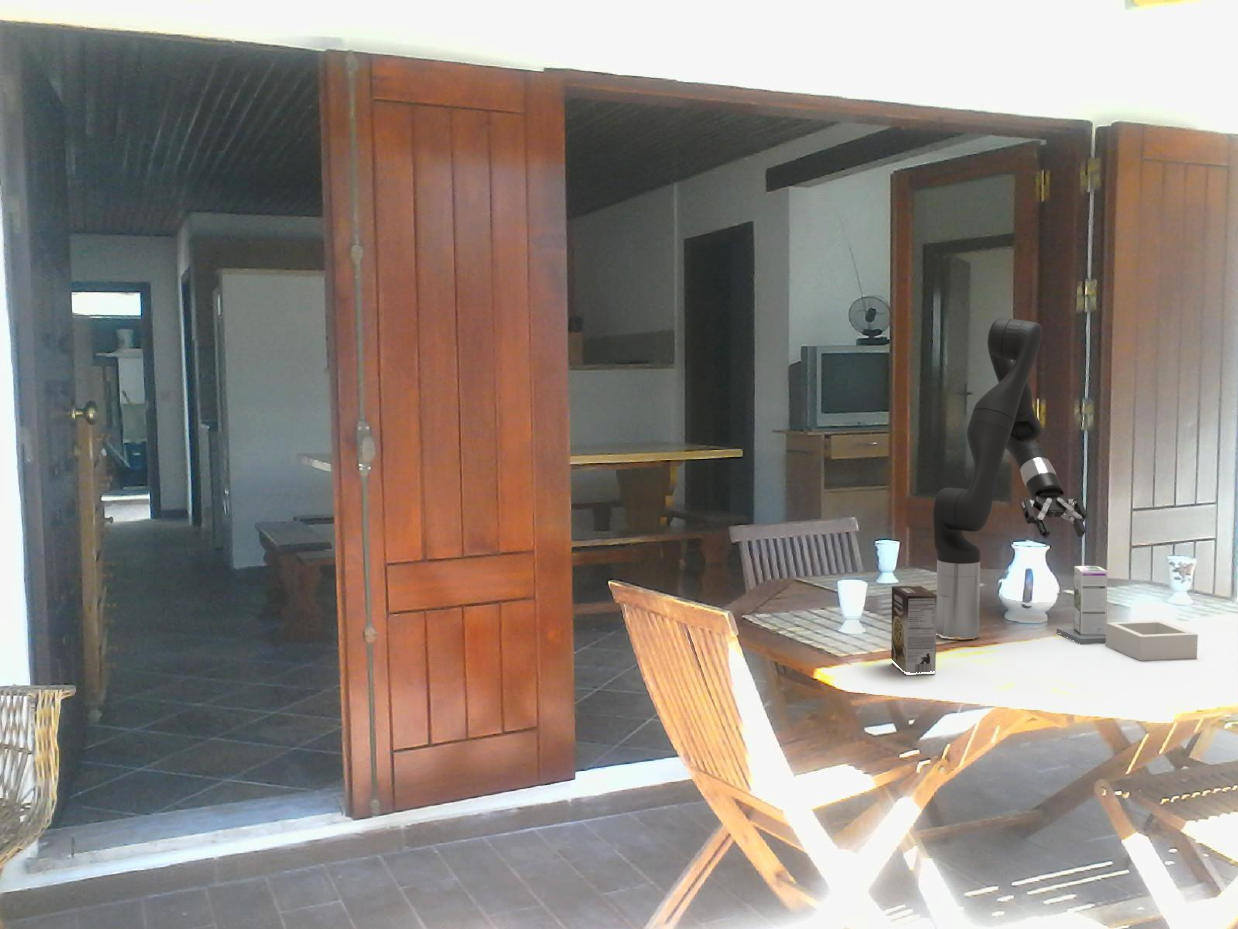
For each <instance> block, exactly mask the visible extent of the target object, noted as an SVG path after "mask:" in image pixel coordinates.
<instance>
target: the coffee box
mask: <svg viewBox="0 0 1238 929" xmlns="http://www.w3.org/2000/svg"><path fill="white" fill-rule="evenodd" d="M933 593H934V592H932V591H930V590H928V589H927V588H924V587H923V586H922V585H920V586H919V585H916V586H912V585H895V586H894V585H893V586H891V639H890V640H891V645H890V646H891V649H890V650H891V651H890V652H891V653H890V654H891V655H890V657H891V659H892V660H893V661H894V662H895V663H896V664H897V665H898V666H899V667H900V668H901V669H902V670H903V671H905V672H910V673H916V672H917V673H919V672H920V673H921V672H930V671H932V672H933V671H935V672H936V656H937V653H936V652H937V635H936V624H937V595H935V594H933ZM891 659H890V660H891Z"/></svg>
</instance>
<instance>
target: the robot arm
mask: <svg viewBox="0 0 1238 929" xmlns="http://www.w3.org/2000/svg"><path fill="white" fill-rule="evenodd" d="M1042 339H1043V328H1042V325H1041V324H1040V323H1039V322H1036V321H1031V320H1023V319H1015V318H1007V317H1004V318H1003V317H1001V318H997V319H994V321H993V322H992V324H991V326H990V327H989V331H988V335H987V349H988V354H989V358H990V361H991V364H992V367H993V370H994V373H995V376H996V379H997V382H998V383H997V384H995V385H994V386H993V387H992V388H991V389H990V390H988V391H987V392H986V393H985V394H984V395H982V396H981V397H980V399H978V401H977V402H976V403H975V404H974V407H973V410H972V413H971V416H970V420H969V422H968V424H967V425H968V426H967V428H966V429H967V430H966V437H967V443H968V447H969V450H970V452H971V457H972V459H973V464H974V465H973V467H974V468H973V475H972V479H971V482H970V486H969V488H960V487H959V488H958V487H945V488H942V489H940V490H939V491H938V493H937V494H936V496H935V499H934V503H933V516H932V518H933V538H934V539H933V540H934V541H933V542H934V548H935V551H936V591H933V592H932V593H933V594H935V595H937V624H936V632H937V633H939V634H941V635H943V636H948V637H961V638H973V637H974V638H975V637H978V638H980V600H981V599H980V594H981V593H980V591H981V590H980V589H981V550H980V548H979V547H978V546H977V545H975V544H973V543H972V542H970V541H969V540H968V539H967V538H966V537H965V536H964V534H963V532H974V533H976V532H979V531H981V530H982V529H983V528H984V527H985V525H986V524H987V522H988V519H989V517H990V513H991V510H992V505H993V501H994V496H995V490H996V486H997V481H998V477H999V473H1000V469H1001V465H1002V461H1003V458H1004V454H1005V451H1006V450H1007V451H1008V452H1009V454H1010V455H1012V457H1013V458H1014V460H1015V463H1016V464H1017V466H1018V470H1019V472H1020V475H1021V478H1022V482H1023V484H1024V486H1025V489H1026V491H1027V494H1028V496H1029V498H1028V497H1025V498H1023V500H1022V502H1021V504H1020V507H1021V509H1022V510H1021V511H1022V514H1023V516H1024V519H1025V522H1026V524H1028V525H1031V524H1034V525H1035V526H1036V527H1037V530H1038V532H1039V535H1040V536H1041V537H1042V538H1043V539H1048V537H1049V536H1050V534H1051V532H1050V530H1049V527H1048V524H1047V522H1046V520H1045V519H1044V518H1045V517H1047V518H1053V517H1054V518H1055V517H1056V518H1062V519H1063V520H1065V521H1068V522H1070V523H1071V524H1072V526H1073V528H1074V531H1075V533H1076V535H1077V537H1078V538H1083V536H1084V535H1085V533H1086V531H1087V529H1086V527H1085V524H1084V522H1085V521H1086V519H1087V518H1088V516H1089V514H1088V511H1087V509H1086V507H1085V506H1084V504H1083V502H1082V500H1081V498H1080V497H1079V496H1074V497H1073V498H1067V497H1066V495H1065V492H1064V489H1063V486H1062V484H1061V482H1060V480H1059V477H1058V476H1057V473H1056V471H1055V470H1056V469H1055V468H1054V466H1053V465H1052V463H1051V462H1050V460H1049V458H1048V455H1047V453H1046V451H1045V448H1044V447H1043V445H1042V444H1040V443H1039V442H1036V440H1038V439H1039V438H1040V437H1041V435H1042V433H1043V427H1042V423H1041V422H1040V420H1039V417H1038V416H1037V415H1036V412H1035V411H1034V410H1035V409H1034V406H1033V391H1032V389H1031V385H1030V384H1029V381H1028V378H1029V377H1030V374H1031V371H1032V369H1033V366H1034V363H1035V362H1036V358H1037V356H1038V354H1039V350H1040V347H1041V344H1042ZM1013 361H1015V362H1014V363H1013ZM1033 508H1034V509H1035V510H1037V511H1038V512H1039V513H1038V515H1035V512H1034V509H1033ZM1066 511H1067V513H1065V512H1066Z"/></svg>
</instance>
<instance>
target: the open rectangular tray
mask: <svg viewBox="0 0 1238 929" xmlns="http://www.w3.org/2000/svg"><path fill="white" fill-rule="evenodd" d="M1198 638H1199V634H1198V633H1195V632H1192V631H1189V630H1187V629H1184V628H1182V627H1179V626H1176V625H1173V624H1170V623H1169V622H1165V621H1163V620H1143V621H1141V620H1139V621H1118V622H1117V621H1115V622H1107V623H1106V643H1105V646H1106V647H1108V648H1110V647H1111V648H1110V649H1112V648H1113V650H1114V651H1117V650H1118V651H1117V652H1119V651H1120V652H1119V653H1121V652H1122V653H1121V654H1124V655H1127V656H1128V657H1131V658H1132V657H1133V659H1134V660H1137V661H1139V662H1144V661H1145V662H1146V661H1147V662H1148V661H1166V660H1167V661H1169V660H1187V659H1193V660H1194V659H1198V641H1199V640H1198Z"/></svg>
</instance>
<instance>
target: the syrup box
mask: <svg viewBox="0 0 1238 929" xmlns="http://www.w3.org/2000/svg"><path fill="white" fill-rule="evenodd" d="M1073 568H1074V574H1073V576H1074V578H1073V594H1074V595H1073V627H1074V629H1075V630H1076V631H1077V632H1078V633H1080V634H1081V635H1106V623H1108V622H1107V620H1108V571H1107V570H1106V569H1104V568H1103V567H1101V566H1098V565H1074V567H1073Z"/></svg>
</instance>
